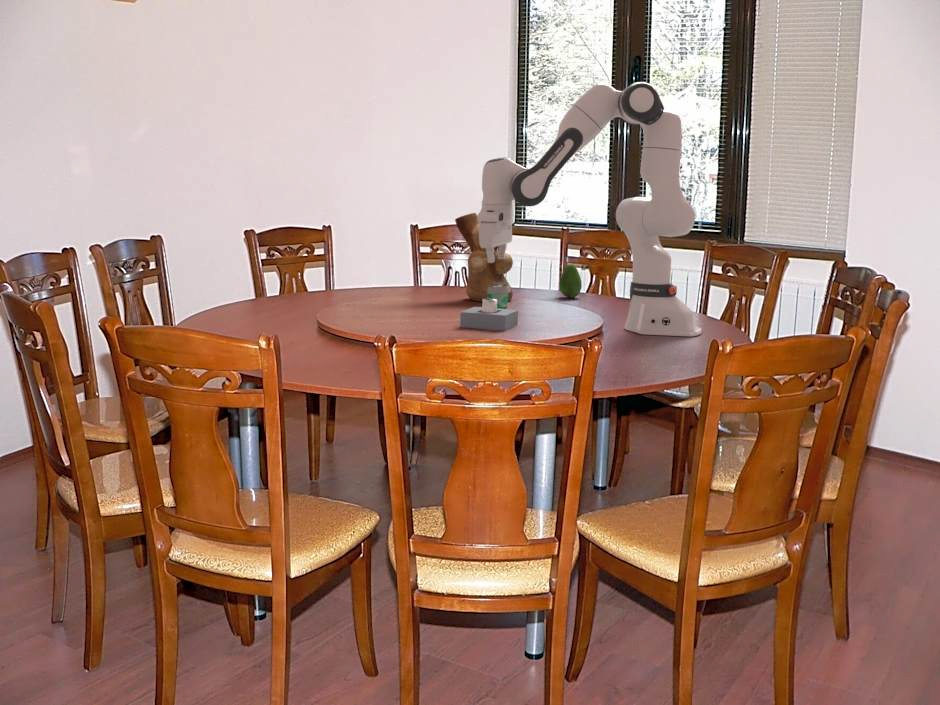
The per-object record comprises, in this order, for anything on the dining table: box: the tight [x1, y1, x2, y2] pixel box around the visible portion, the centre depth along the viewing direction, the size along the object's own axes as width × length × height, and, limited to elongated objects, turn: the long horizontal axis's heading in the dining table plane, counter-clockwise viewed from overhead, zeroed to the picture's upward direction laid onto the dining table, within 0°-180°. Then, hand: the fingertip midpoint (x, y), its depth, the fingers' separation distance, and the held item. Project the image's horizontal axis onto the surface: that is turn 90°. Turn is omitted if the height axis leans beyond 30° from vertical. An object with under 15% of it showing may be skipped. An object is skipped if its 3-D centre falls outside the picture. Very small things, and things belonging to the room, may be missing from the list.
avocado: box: [558, 264, 582, 299], centre depth 383 cm, size 8×8×12 cm
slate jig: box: [459, 306, 519, 332], centre depth 320 cm, size 14×12×4 cm
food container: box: [487, 282, 511, 309], centre depth 338 cm, size 12×6×10 cm, turn 168°
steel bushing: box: [481, 298, 497, 313], centre depth 320 cm, size 4×4×8 cm
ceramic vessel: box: [454, 212, 514, 302], centre depth 372 cm, size 16×22×30 cm
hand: (496, 260), depth 318 cm, fingers open, 8 cm apart
